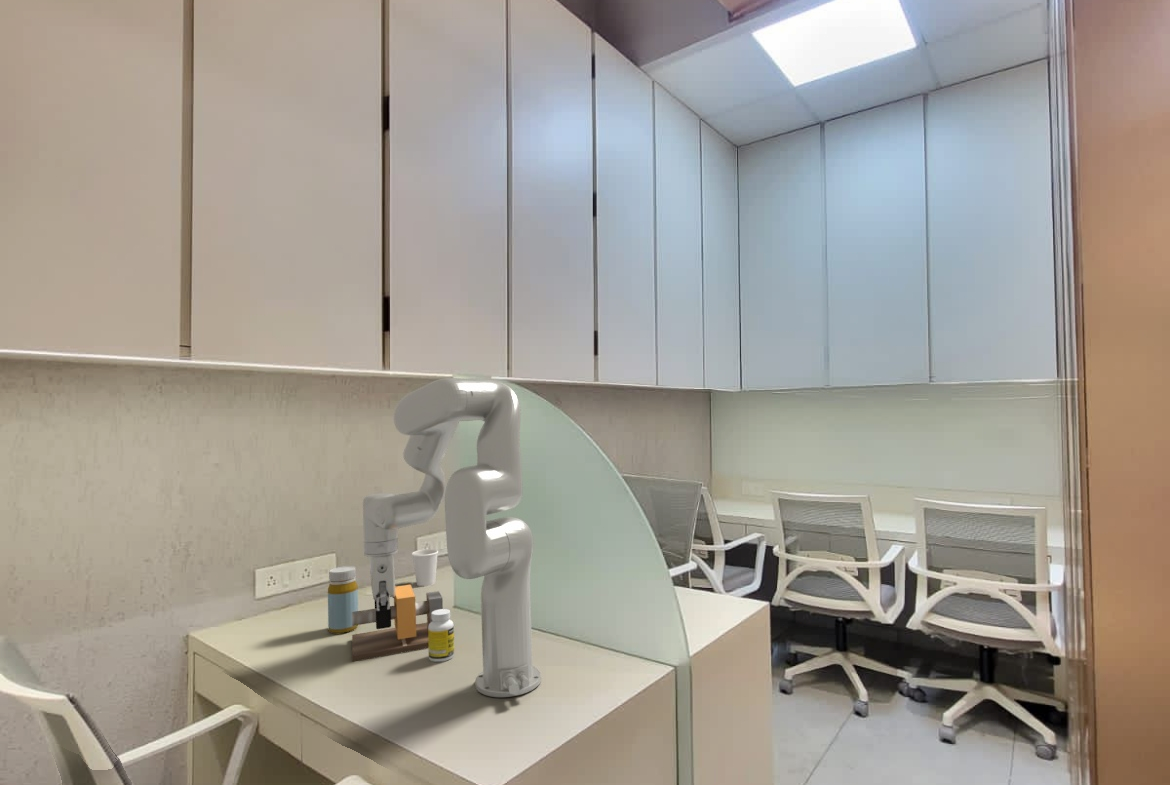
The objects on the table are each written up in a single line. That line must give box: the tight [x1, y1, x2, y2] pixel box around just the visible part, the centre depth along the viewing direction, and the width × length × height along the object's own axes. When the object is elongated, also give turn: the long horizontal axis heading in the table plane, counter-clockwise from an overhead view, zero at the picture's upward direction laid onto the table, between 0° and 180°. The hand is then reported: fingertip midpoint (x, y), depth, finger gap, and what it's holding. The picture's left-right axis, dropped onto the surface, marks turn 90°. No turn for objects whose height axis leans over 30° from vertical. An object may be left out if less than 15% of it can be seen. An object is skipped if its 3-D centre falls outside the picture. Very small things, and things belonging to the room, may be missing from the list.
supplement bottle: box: [428, 608, 455, 663], centre depth 127 cm, size 5×5×10 cm
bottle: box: [327, 565, 359, 634], centre depth 148 cm, size 7×7×15 cm
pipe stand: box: [351, 590, 444, 662], centre depth 137 cm, size 14×20×10 cm
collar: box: [393, 584, 417, 639], centre depth 138 cm, size 11×4×9 cm, turn 22°
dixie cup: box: [411, 548, 439, 587], centre depth 187 cm, size 8×8×10 cm
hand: (382, 621), depth 136 cm, fingers open, 9 cm apart
